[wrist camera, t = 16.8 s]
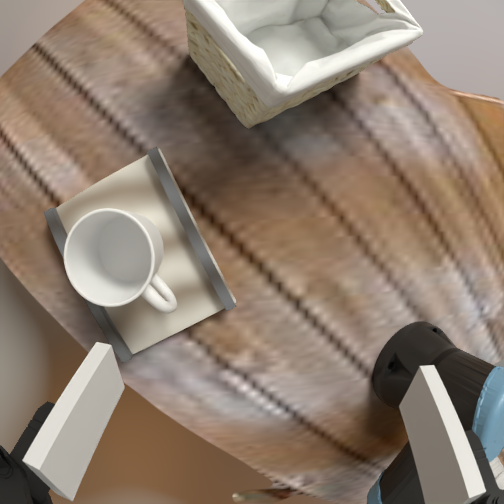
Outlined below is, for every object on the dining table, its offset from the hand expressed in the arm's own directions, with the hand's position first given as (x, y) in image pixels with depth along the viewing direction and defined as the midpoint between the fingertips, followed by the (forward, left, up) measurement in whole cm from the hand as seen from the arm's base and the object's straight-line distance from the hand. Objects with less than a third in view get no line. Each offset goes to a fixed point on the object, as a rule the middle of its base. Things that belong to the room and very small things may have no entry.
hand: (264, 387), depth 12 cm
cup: (+6, +7, -25) cm, 26 cm away
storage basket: (+23, -21, -27) cm, 41 cm away
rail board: (+6, +7, -26) cm, 28 cm away
